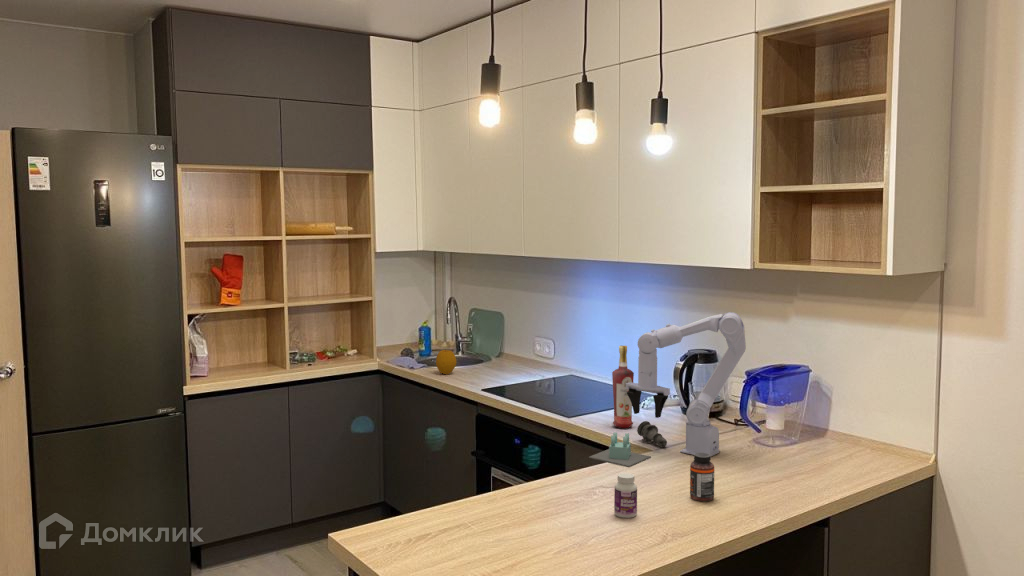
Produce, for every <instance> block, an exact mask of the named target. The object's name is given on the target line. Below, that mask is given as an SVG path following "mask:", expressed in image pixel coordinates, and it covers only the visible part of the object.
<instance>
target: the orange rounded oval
mask: <svg viewBox="0 0 1024 576" xmlns="http://www.w3.org/2000/svg"><path fill="white" fill-rule="evenodd" d="M456 357H457V356H456V355H455V353H454V352H453V351H452V350H449V349H443V350H440V351H439V352H438V353H437V355H436V357H435V365H436V368H437V370H438V371H439V374H441V373H443V374H448V375H450V374H451V373H453V371H454V369H455V368H456V366H457V358H456ZM449 373H450V374H449ZM443 374H442V375H443Z"/></svg>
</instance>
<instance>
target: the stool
mask: <svg viewBox="0 0 1024 576" xmlns="http://www.w3.org/2000/svg"><path fill="white" fill-rule="evenodd" d="M608 449H609V458H613V459H625V460H628V458H629V457H630V455H631V452H632V443H631V442H630V434H629V433H628V432H626V433H625V434H624V435H623V436H622V441H621V442H620V441H618V432H613V433H612V435H611V436H610V444H609V447H608Z"/></svg>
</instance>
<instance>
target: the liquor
mask: <svg viewBox="0 0 1024 576" xmlns="http://www.w3.org/2000/svg"><path fill="white" fill-rule="evenodd" d="M618 352H619V359H618V368H615V370H613V371H612V372H611V375H612V376H611V377H612V395H613V421H612V424H613V425H614V426H615V427H616V428H617V429H622V430H623V429H624V430H625V429H630V428H631V426H633V423H634V422H633V421H632V417H633V407H632V403H631V401H630V399H629V397H628V395H627V392H628V391H629V390H627V389H626V383H629V382H630V383H634V376H635V372H633V370H631V369H630V368H628V359H627V353H628V346H627V345H619V346H618Z"/></svg>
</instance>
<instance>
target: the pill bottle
mask: <svg viewBox="0 0 1024 576" xmlns="http://www.w3.org/2000/svg"><path fill="white" fill-rule="evenodd" d="M616 481H617V482H616V483H615V485H614V494H613V495H614V498H613V500H614V501H613V502H614V507H613V508H614V509H613V510H614V516H616V517H618V518H624V519H631V518H635V517H636V516H637V513H638V486H637V484H636V483H635V475H634V474H633V473H629V472H620V473H618V474H617V480H616Z"/></svg>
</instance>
